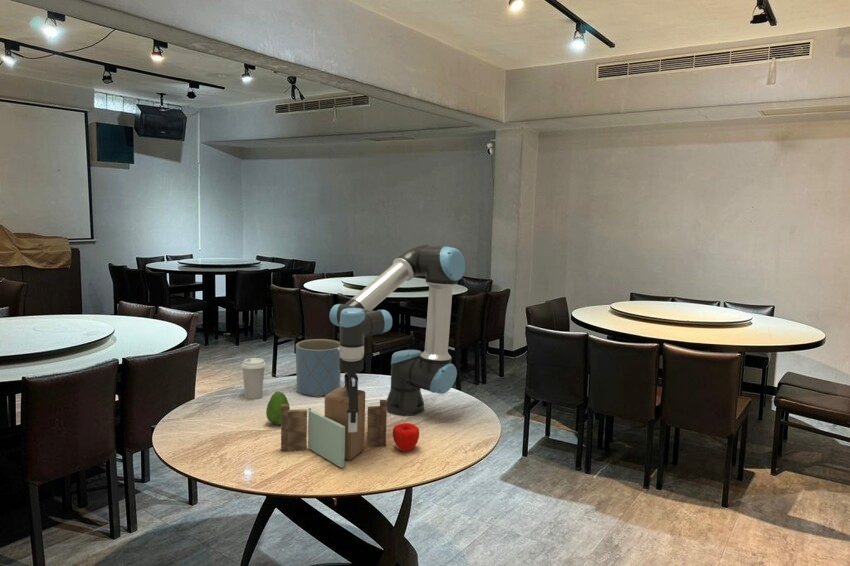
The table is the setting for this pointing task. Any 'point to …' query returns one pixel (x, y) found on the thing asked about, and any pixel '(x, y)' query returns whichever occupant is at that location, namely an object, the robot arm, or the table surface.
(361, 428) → the wooden block
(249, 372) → the coffee cup
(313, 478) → the table surface
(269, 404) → the fruit
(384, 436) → the wall frame
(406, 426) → the apple
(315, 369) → the planter
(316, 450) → the door
